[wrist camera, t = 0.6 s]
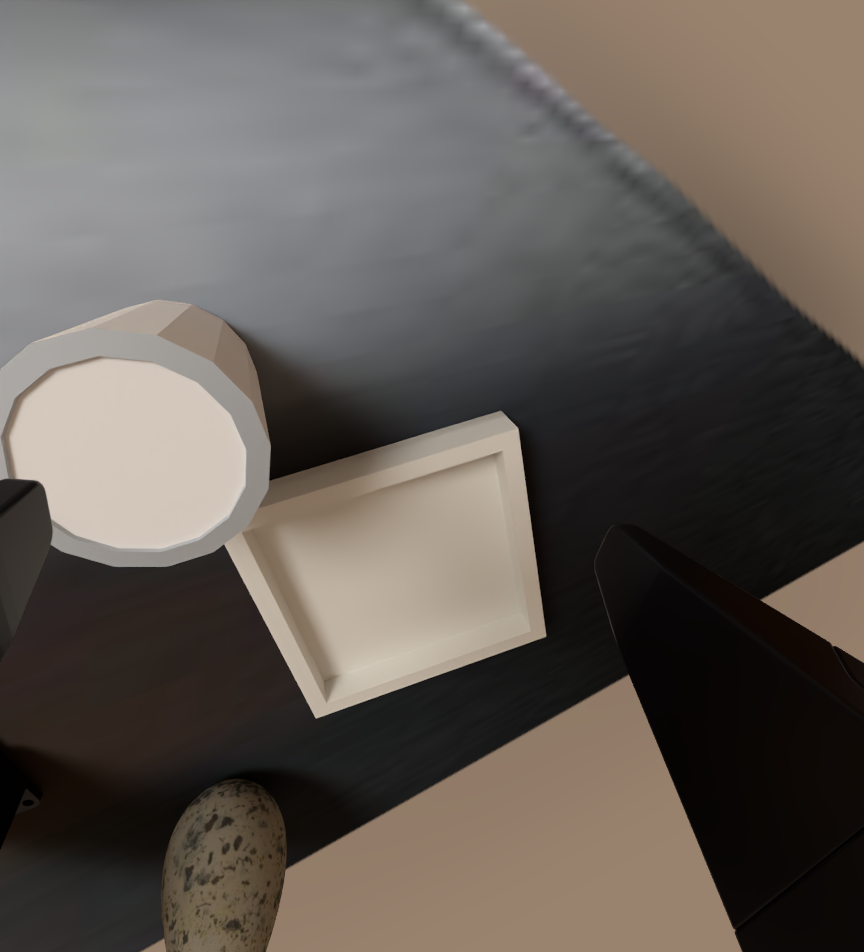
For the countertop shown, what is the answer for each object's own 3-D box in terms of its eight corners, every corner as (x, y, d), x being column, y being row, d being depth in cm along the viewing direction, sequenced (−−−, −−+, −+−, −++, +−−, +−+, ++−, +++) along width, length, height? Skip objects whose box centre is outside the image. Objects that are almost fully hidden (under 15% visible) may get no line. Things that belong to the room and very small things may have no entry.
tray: (313, 686, 29) (315, 718, 27) (217, 496, 22) (212, 522, 20) (531, 610, 30) (546, 636, 28) (501, 410, 24) (518, 428, 22)
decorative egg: (152, 795, 30) (100, 1042, 21) (236, 738, 29) (218, 968, 21) (229, 830, 33) (211, 1058, 24) (306, 779, 32) (316, 993, 24)
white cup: (205, 491, 22) (178, 606, 16) (29, 390, 19) (-89, 488, 13) (311, 367, 21) (323, 442, 15) (141, 234, 17) (67, 261, 11)
